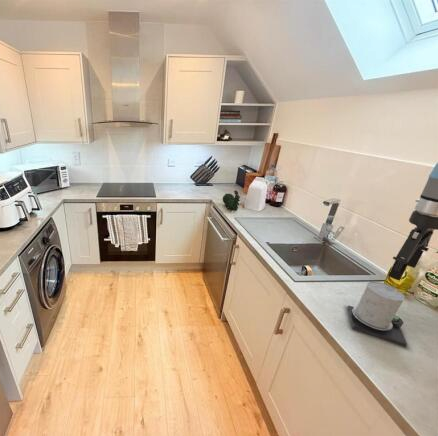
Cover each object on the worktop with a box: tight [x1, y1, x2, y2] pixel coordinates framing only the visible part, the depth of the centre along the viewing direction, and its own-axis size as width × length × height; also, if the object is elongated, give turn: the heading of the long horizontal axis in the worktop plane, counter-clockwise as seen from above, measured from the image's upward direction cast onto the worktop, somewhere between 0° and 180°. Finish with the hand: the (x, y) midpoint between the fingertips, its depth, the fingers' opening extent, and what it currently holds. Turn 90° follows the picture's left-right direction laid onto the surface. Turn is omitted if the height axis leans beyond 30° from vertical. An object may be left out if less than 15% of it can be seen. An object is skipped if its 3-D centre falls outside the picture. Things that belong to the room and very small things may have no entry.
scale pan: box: [352, 306, 393, 331], centre depth 86 cm, size 11×11×1 cm
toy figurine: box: [222, 189, 241, 212], centre depth 193 cm, size 9×19×25 cm
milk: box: [243, 176, 268, 212], centre depth 192 cm, size 12×12×26 cm
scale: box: [347, 305, 408, 348], centre depth 86 cm, size 15×13×3 cm
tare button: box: [392, 314, 400, 322], centre depth 86 cm, size 3×3×1 cm
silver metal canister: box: [355, 281, 406, 328], centre depth 83 cm, size 10×10×12 cm
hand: (401, 271), depth 79 cm, fingers open, 13 cm apart
